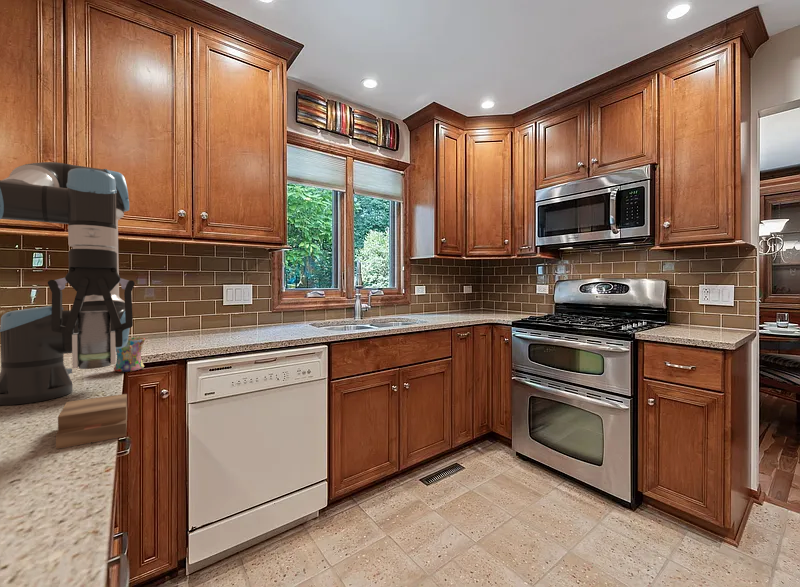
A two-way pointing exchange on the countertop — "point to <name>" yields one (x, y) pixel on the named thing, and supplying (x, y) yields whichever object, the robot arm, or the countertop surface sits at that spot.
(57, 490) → the countertop surface
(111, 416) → the step block
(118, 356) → the colorful snack bag
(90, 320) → the column
